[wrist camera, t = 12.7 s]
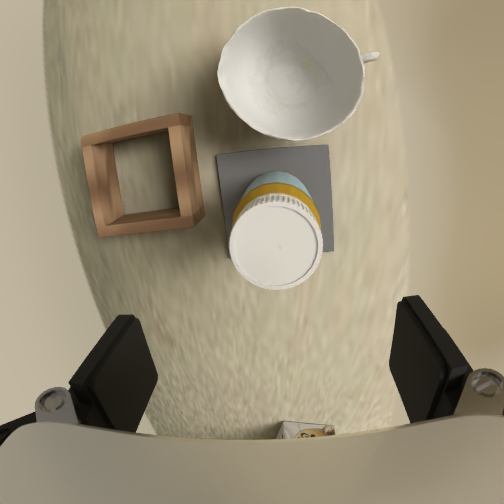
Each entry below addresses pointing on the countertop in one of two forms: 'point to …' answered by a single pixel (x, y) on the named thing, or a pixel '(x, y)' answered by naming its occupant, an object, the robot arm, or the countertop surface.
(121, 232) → the brown open frame
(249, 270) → the bottle
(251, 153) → the mat
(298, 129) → the teacup
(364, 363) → the countertop surface
